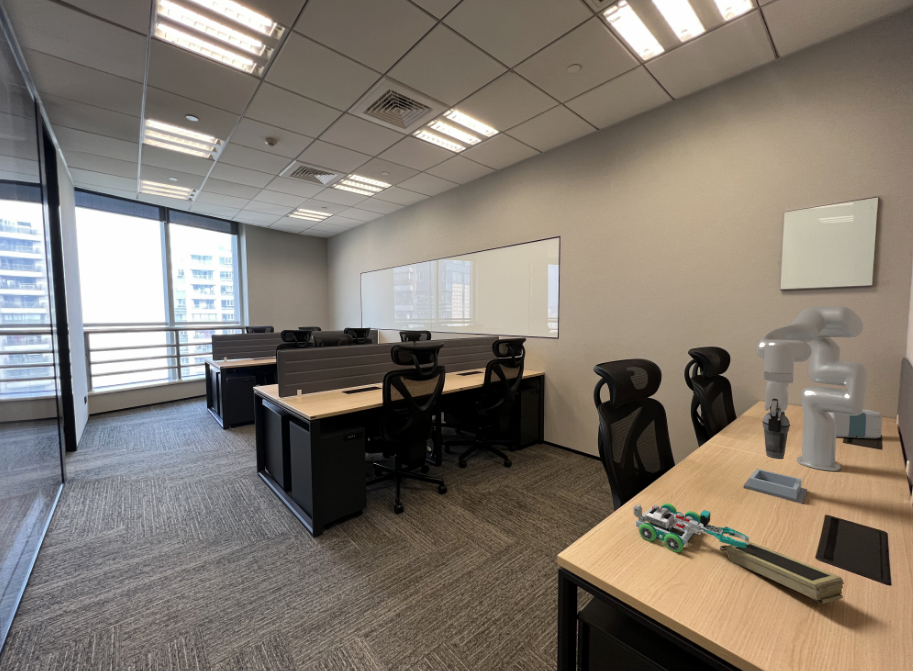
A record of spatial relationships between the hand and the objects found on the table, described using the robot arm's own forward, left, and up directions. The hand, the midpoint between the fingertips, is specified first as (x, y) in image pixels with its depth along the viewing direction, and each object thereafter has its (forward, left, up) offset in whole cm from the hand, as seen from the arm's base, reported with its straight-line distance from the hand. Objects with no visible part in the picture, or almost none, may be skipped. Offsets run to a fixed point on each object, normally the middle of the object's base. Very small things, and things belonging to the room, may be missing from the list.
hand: (776, 428), depth 125 cm
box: (+56, +7, -22) cm, 61 cm away
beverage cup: (0, 0, -10) cm, 10 cm away
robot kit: (+54, -10, -22) cm, 59 cm away
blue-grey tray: (0, 0, -21) cm, 21 cm away
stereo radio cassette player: (-104, +14, -22) cm, 107 cm away
